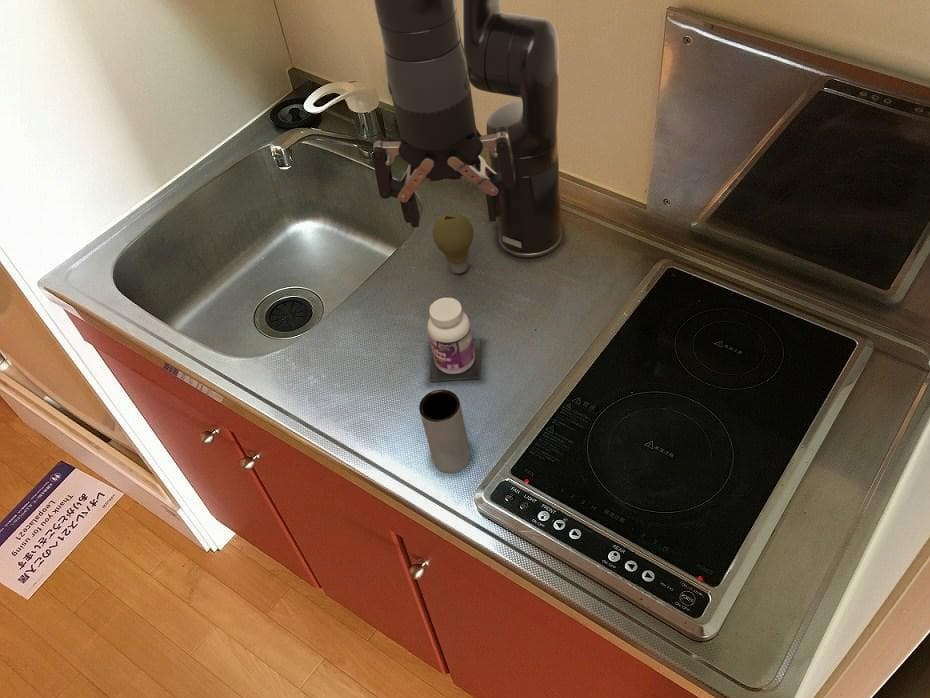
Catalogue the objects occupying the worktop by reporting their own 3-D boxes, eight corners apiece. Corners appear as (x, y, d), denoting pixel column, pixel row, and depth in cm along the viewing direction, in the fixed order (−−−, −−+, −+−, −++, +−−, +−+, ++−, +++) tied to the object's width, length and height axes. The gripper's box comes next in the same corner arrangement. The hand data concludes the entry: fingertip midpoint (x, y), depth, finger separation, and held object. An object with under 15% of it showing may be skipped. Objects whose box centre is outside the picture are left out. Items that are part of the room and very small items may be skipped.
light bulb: (445, 288, 116) (434, 234, 108) (436, 263, 120) (425, 209, 112) (483, 279, 117) (475, 224, 109) (473, 254, 120) (465, 199, 113)
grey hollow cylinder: (450, 435, 100) (438, 382, 92) (478, 454, 98) (468, 401, 90) (425, 461, 98) (410, 408, 90) (453, 480, 96) (440, 428, 88)
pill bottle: (427, 368, 107) (414, 316, 99) (448, 340, 109) (437, 288, 102) (463, 381, 105) (452, 329, 97) (483, 352, 107) (474, 300, 100)
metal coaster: (432, 345, 110) (432, 343, 109) (480, 342, 109) (480, 340, 109) (430, 382, 105) (429, 380, 105) (480, 379, 105) (480, 377, 105)
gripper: (505, 59, 79) (518, 193, 92) (360, 70, 80) (393, 202, 93) (505, 103, 74) (519, 238, 87) (351, 115, 75) (387, 247, 88)
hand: (454, 219), depth 90 cm, fingers open, 8 cm apart
